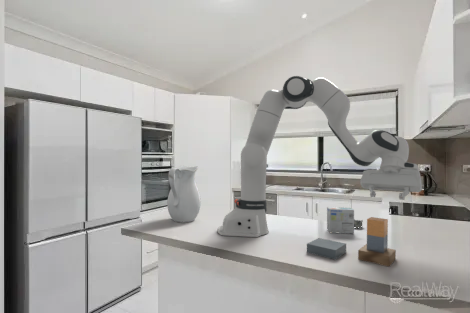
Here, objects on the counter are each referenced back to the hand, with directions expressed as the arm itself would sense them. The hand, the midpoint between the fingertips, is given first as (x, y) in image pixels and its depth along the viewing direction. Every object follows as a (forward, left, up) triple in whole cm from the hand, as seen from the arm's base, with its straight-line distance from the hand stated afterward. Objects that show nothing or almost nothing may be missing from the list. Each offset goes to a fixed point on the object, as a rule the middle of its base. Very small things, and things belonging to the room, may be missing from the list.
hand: (386, 197), depth 100 cm
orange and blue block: (-9, -9, -16) cm, 20 cm away
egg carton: (+5, +36, -20) cm, 41 cm away
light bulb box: (-5, +26, -19) cm, 33 cm away
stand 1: (-23, -2, -19) cm, 30 cm away
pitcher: (-79, +46, -19) cm, 93 cm away
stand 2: (-9, -9, -19) cm, 23 cm away
